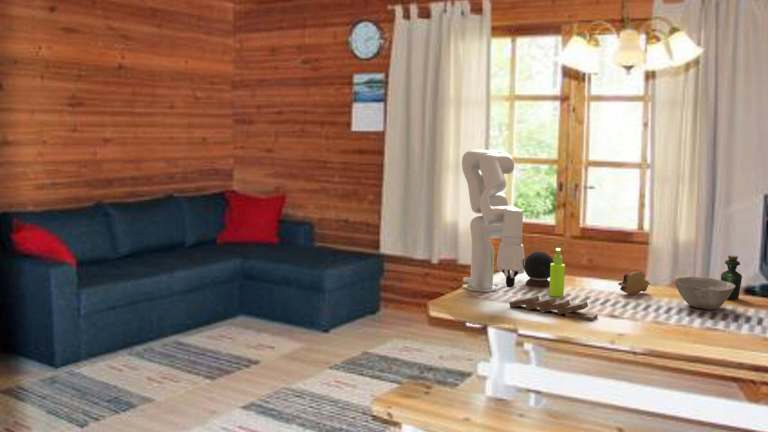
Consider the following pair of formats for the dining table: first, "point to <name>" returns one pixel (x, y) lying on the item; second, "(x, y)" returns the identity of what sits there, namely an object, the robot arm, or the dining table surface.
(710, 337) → the dining table surface
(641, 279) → the wooden carving
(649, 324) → the dining table surface
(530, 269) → the black ball on stand
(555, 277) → the soap dispenser
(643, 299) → the dining table surface
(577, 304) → the domino
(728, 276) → the potion bottle
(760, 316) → the dining table surface
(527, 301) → the domino
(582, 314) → the domino
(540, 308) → the domino
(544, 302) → the domino
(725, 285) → the ceramic bowl
